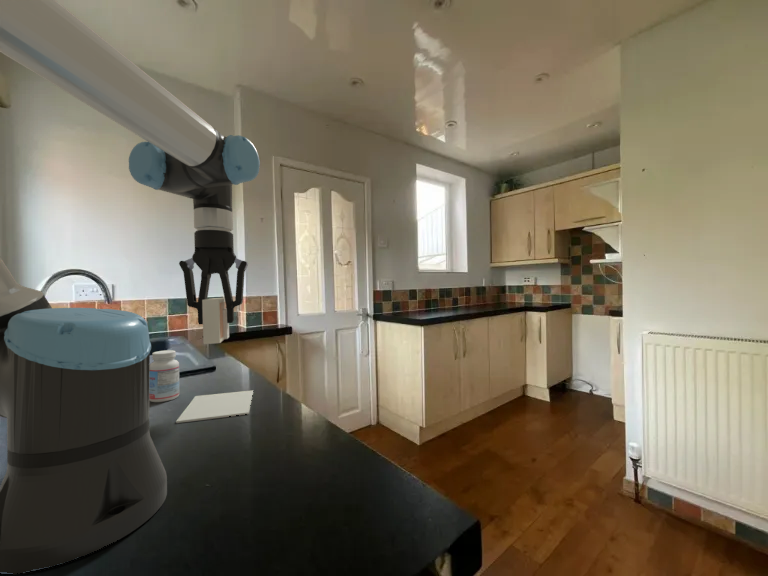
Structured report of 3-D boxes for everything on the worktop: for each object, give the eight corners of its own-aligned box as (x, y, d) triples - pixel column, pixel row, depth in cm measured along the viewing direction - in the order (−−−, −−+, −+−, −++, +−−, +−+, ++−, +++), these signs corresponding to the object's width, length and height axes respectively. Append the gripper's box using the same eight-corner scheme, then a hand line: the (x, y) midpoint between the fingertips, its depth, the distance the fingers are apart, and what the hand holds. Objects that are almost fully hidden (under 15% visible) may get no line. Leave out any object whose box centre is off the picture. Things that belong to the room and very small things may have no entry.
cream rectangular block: (220, 343, 66) (218, 299, 66) (203, 344, 65) (202, 299, 65) (228, 336, 76) (227, 297, 76) (214, 336, 75) (213, 298, 75)
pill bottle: (148, 398, 78) (148, 351, 78) (178, 393, 82) (177, 348, 82) (148, 405, 73) (148, 355, 73) (180, 399, 77) (180, 352, 77)
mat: (248, 414, 67) (248, 412, 67) (176, 423, 63) (176, 421, 63) (253, 391, 82) (253, 390, 82) (195, 397, 78) (195, 396, 78)
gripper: (255, 234, 76) (257, 333, 77) (177, 233, 72) (180, 338, 72) (252, 229, 69) (254, 338, 69) (165, 227, 64) (168, 344, 65)
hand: (216, 338), depth 71 cm, fingers closed on cream rectangular block, 3 cm apart
